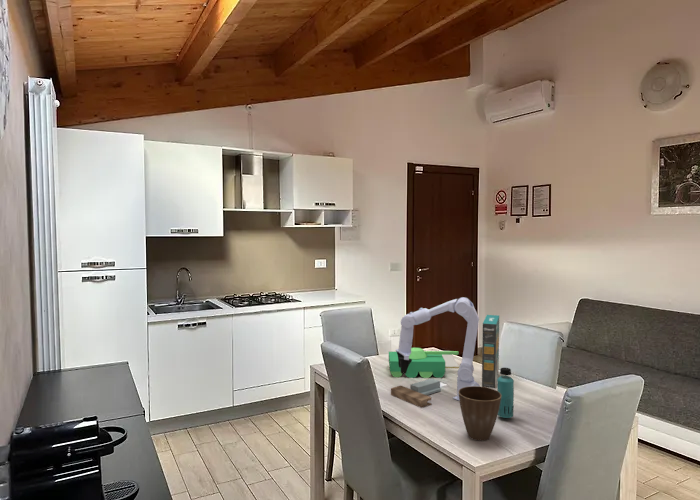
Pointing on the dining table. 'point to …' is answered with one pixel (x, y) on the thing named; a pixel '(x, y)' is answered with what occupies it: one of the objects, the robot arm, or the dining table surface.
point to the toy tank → (421, 363)
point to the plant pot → (479, 410)
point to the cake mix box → (490, 351)
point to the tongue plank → (426, 386)
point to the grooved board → (411, 396)
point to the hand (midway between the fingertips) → (402, 370)
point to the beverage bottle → (506, 393)
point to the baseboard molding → (449, 361)
